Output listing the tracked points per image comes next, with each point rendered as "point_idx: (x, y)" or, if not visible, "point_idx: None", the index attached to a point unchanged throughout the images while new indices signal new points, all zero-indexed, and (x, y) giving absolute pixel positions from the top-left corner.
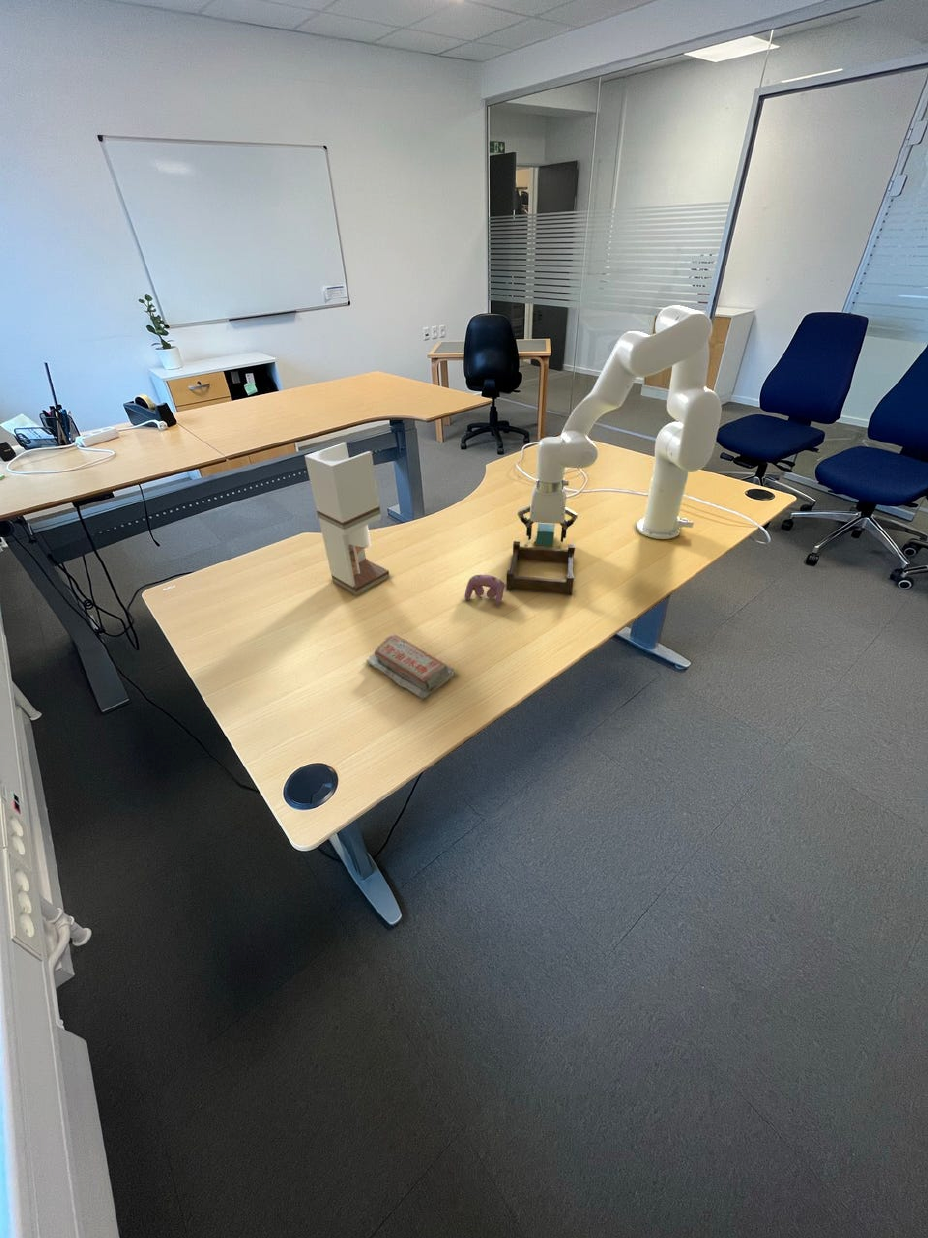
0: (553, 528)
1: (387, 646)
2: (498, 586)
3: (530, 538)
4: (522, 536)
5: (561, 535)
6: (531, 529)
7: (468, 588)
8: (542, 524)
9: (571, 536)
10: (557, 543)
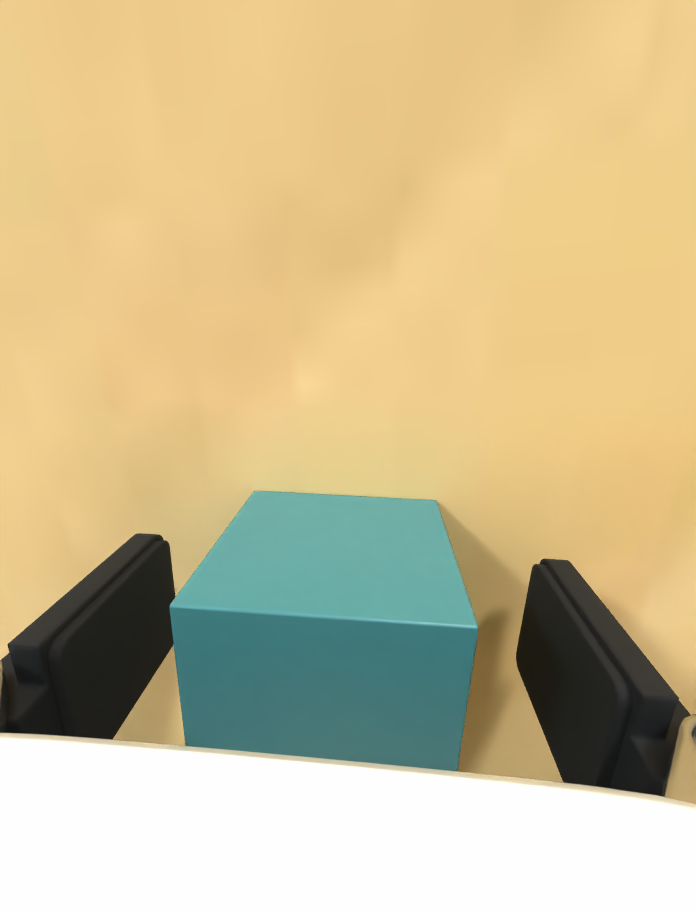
0: (447, 756)
1: None
2: None
3: (169, 648)
4: (87, 473)
5: (551, 738)
6: (113, 657)
7: None
8: (247, 638)
9: (670, 430)
10: (475, 592)
